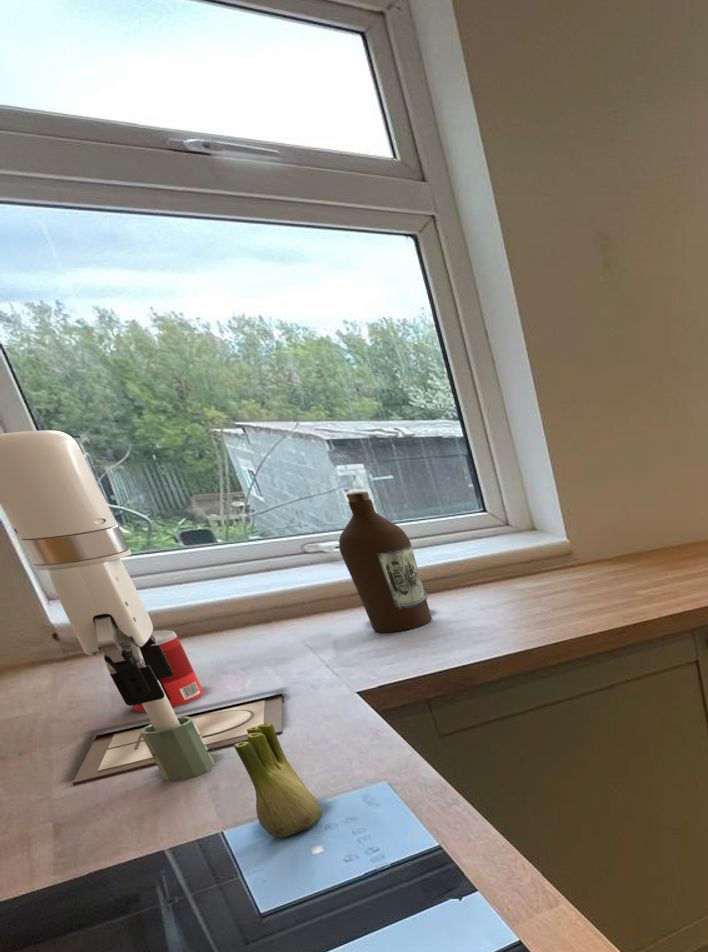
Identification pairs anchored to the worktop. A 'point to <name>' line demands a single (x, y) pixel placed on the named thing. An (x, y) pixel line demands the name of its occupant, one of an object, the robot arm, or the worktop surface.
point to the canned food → (176, 672)
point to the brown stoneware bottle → (383, 568)
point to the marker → (161, 714)
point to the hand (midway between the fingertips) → (151, 689)
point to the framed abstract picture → (214, 726)
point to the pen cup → (179, 750)
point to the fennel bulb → (276, 785)
